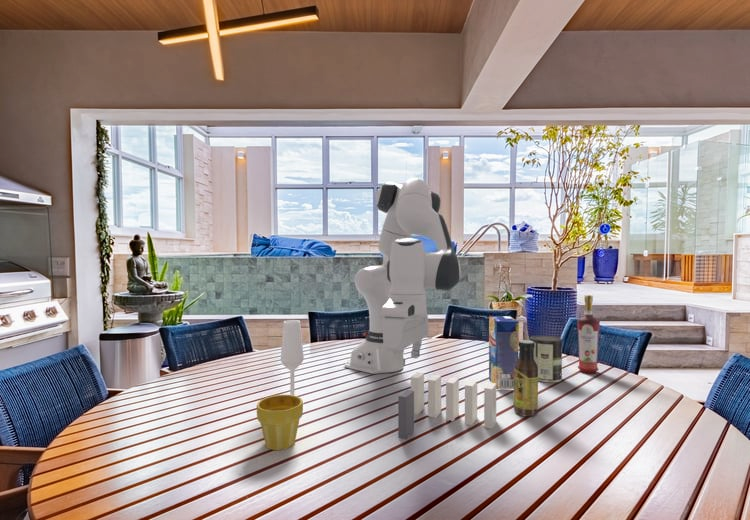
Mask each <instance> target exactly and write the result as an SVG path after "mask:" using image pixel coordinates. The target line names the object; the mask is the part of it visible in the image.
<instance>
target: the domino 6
mask: <svg viewBox="0 0 750 520" xmlns="http://www.w3.org/2000/svg"><path fill="white" fill-rule="evenodd" d="M483 390H484V391H483V392H484V393H483V395H484V397H483V399H484V401H483V403H484V404H483V407H484V408H483V415H484V416H483V417H484V419H483V422H484V423H483V426H484V428H486V429H492V430H493V429H494V426H495V425H496V424H497V390H496V383H491V382H487V384H486V385H485V387H484V389H483Z"/></svg>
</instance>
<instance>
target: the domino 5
mask: <svg viewBox="0 0 750 520" xmlns="http://www.w3.org/2000/svg"><path fill="white" fill-rule="evenodd" d="M477 419H478V380H474V379H469V380H468V381H467V382H466V383H465V384H464V424H465V425H469V424H470V425H471V426H473V425H474V423H475V422H476V420H477Z"/></svg>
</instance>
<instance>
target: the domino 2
mask: <svg viewBox="0 0 750 520" xmlns="http://www.w3.org/2000/svg"><path fill="white" fill-rule="evenodd" d="M410 390H412V391H414V415H419V414H420V413H421V412H422V411H423V410H425V373H423V372H416V373H414V374H413V375H412V376H411V377H410Z"/></svg>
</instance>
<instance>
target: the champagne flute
mask: <svg viewBox="0 0 750 520" xmlns="http://www.w3.org/2000/svg"><path fill="white" fill-rule="evenodd" d="M281 338H282V339H281V349H280V362H281V363H282V365H283V366H284V367H285V368H286V369H287V370H289V371H290V372H289V375H290V376H289V381H290V382H289V384H290V386H289V387H290V389H289V390H290V393H289V395H294V396H296V395H295V370H297V368H299V366H300V365H301V364H302V363H303V361H304V359H305V356H304V347H303V346H304V345H303V337H302V327H301V321H300V320H297V319H296V320H295V319H292V320H291V319H289V320H284V321H283V327H282V337H281ZM302 401H303V404H304V403H305V402H304V400H303V399H302Z"/></svg>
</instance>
